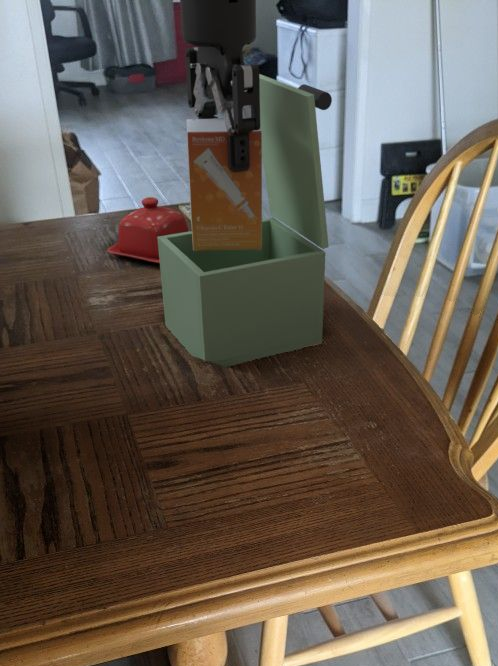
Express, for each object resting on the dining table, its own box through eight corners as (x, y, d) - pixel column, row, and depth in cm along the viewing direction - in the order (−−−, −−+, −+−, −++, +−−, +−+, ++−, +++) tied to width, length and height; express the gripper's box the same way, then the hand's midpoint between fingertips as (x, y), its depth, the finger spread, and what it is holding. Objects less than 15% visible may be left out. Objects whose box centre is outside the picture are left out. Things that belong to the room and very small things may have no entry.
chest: (205, 372, 92) (199, 276, 85) (165, 326, 102) (157, 236, 95) (322, 344, 98) (325, 252, 91) (273, 303, 108) (273, 217, 101)
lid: (307, 96, 80) (351, 83, 81) (250, 74, 90) (289, 63, 91) (322, 249, 90) (361, 235, 92) (270, 214, 100) (305, 202, 102)
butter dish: (103, 258, 121) (95, 202, 116) (147, 235, 129) (142, 182, 124) (163, 271, 117) (158, 214, 112) (205, 247, 125) (202, 193, 120)
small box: (192, 252, 89) (185, 131, 81) (192, 233, 94) (185, 117, 86) (263, 250, 90) (262, 129, 82) (259, 231, 95) (258, 116, 87)
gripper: (156, -17, 81) (169, 150, 90) (210, -4, 70) (218, 183, 80) (223, -20, 83) (228, 143, 93) (284, -8, 73) (283, 173, 83)
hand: (224, 161), depth 87 cm, fingers closed on small box, 7 cm apart
